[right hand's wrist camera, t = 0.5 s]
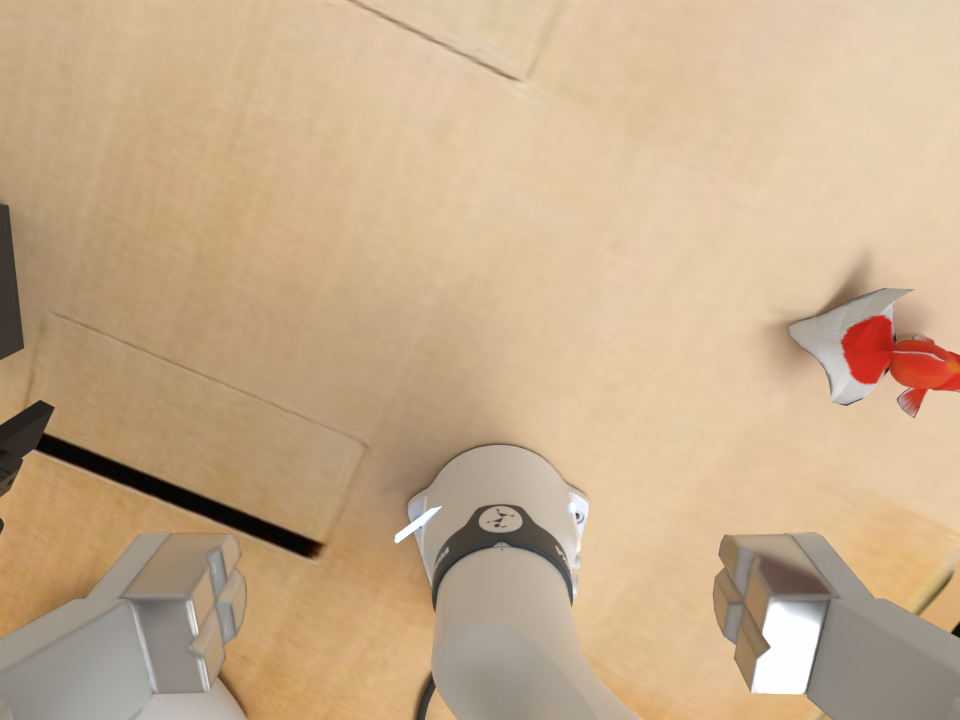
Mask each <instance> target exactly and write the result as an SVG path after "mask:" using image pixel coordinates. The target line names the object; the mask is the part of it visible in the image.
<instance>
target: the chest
mask: <svg viewBox="0 0 960 720" xmlns="http://www.w3.org/2000/svg"><path fill="white" fill-rule="evenodd" d="M23 348H24V345H23V336H22V327H21V318H20V309H19V299H18V290H17V281H16V272H15V263H14V254H13V245H12V236H11V226H10V217H9V208H8V206H7V205H1V204H0V360H1V359H3V358H5V357H7V356H9V355H11V354H13V353H15V352H17V351H19V350H21V349H23Z"/></svg>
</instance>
